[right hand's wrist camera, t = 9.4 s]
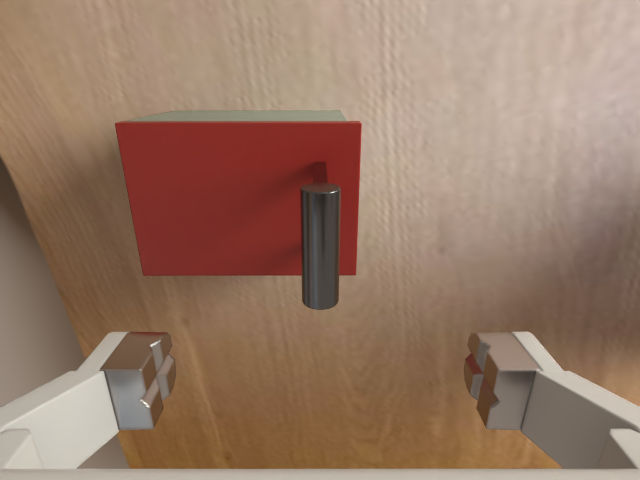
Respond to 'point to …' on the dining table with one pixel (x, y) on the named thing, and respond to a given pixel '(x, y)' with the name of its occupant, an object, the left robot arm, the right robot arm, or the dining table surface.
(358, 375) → the dining table surface
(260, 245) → the lid
